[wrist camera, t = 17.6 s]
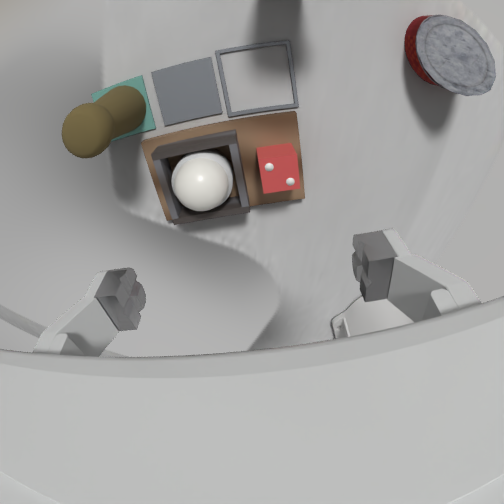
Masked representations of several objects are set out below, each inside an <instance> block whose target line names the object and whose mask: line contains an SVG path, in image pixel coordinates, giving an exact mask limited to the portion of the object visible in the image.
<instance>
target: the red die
mask: <svg viewBox="0 0 504 504" xmlns="http://www.w3.org/2000/svg"><path fill="white" fill-rule="evenodd" d="M256 149H257V155H258V162H259V168H260V174H261V180H262V186H263V192H264V194H266V193H272V192H279V191H286V190H294V189H300V179H299V169H298V159H297V153H296V151H295V149H294V147H293V146H292V144H291V143H287V144H279V145H272V146H265V147H258V148H256Z"/></svg>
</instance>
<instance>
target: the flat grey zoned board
mask: <svg viewBox="0 0 504 504" xmlns="http://www.w3.org/2000/svg"><path fill="white" fill-rule="evenodd" d="M283 44H286V47H287V53H288V60H289V66H290V73H291V80H292V88H293V95H294V103H295V104H286V105H278V106H270V107H263V108H256V109H250V110H243V111H237V112H232V113H231V108H230V103H229V98H228V93H227V88H226V83H225V78H224V73H223V67H222V62H221V57H220V53H225V52H231V51H237V50H243V49H249V48H256V47H264V46H273V45H283ZM215 52H216V57H217V62H218V67H219V72H220V77H221V82H222V87H223V92H224V97H225V102H226V107H227V112H228V117H230V116H236V115H242V114H248V113H254V112H261V111H268V110H275V109H283V108H292V107H299V104H298V96H297V89H296V81H295V74H294V67H293V60H292V54H291V47H290V41H279V42H269V43H261V44H253V45H246V46H240V47H234V48H228V49H223V50H218V51H215ZM151 73H152V77H153V81H154V85H155V89H156V93H157V97H158V101H159V105H160V109H161V113H162V116H163V120H164V124H165V126H166V125H170V124H174V123H178V122H182V121H186V120H191V119H195V118H200V117H204V116H209V115H214V114H219V113H222V108H221V104H220V99H219V94H218V89H217V84H216V79H215V74H214V70H213V65H212V60H211V57H208V58H204V59H199V60H195V61H191V62H187V63H183V64H179V65H175V66H171V67H168V68H164V69H161V70H157V71H154V72H151ZM124 85H126V86H131V87H134V88H135V89H137V90H138V91H139V92H140V93H141V94H142V95H143V97H144V100H145V102H146V114H145V118H144V120H143V121H142V123H141V125H140V126H138V127H137V128H136V129H135V130H133V131H130V132H128V133H126V134H123V135H121V136H119V137H116V138H114V139H112V140H111V142H112V141H115V140H118V139H121V138H124V137H127V136H130V135H134V134H137V133H140V132H144V131H147V130H151V129H155V128H156V126H155V123H154V119H153V115H152V112H151V108H150V104H149V100H148V97H147V93H146V89H145V85H144V81H143V77H142V75H141V76H138V77H135V78H132V79H129V80H127V81H124V82H121V83H118V84H116V85H113V86H110V87H108V88H105V89H103V90H100V91H98V92H95V93H93V94H92V98H93V101H94V102H95V101H96V100H98V99H99V98H100V97H102V96H103V95H104V94H106V93H107V92H108V91H110V90H111V89H113V88H115V87H117V86H124Z"/></svg>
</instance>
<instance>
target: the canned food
mask: <svg viewBox="0 0 504 504" xmlns="http://www.w3.org/2000/svg"><path fill="white" fill-rule="evenodd" d="M404 44H405V52H406V55H407V58H408V61H409V63H410V65H411V66H412V68H413V70H414V71H415V72H416V73H417V74H418V76H419V77H421V78H422V79H423V80H424V81H426V82H428V83H430V84H433V85H437V86H440V87H442V88H445V89H448V90H449V91H451V92H455V93H458V94H462V95H465V96H471V95H482V94H484V93H486V92H488V91H489V90H491V87H492V85H493V83H494V80H495V78H496V73H495V61H494V58H493V56H492V54H491V52H490V50H489V47H488V45H487V43H486V42H485V41H484V40H483V39H482V38H481V36H480V35H479V34H478V33H477V32H476V30H474V29H473V28H471V27H470V26H468V25H467V24H466V23H464V22H463V21H461V20H459V19H455V18H452V17H449V16H444V15H430V16H421V17H418V18H416V19H415V20H413V21H412V22H411V24H410V25H409V26H408V28H407V30H406V34H405V43H404Z"/></svg>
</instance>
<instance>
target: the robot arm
mask: <svg viewBox="0 0 504 504" xmlns="http://www.w3.org/2000/svg"><path fill="white" fill-rule="evenodd" d="M353 247H354V249H355V252H354V253H353V255H352V265H353V272H354V275H355V278H356V280H357V281H358V282H360V291H361V294H362V297H360V298H359V299H357V300H356V301H355V302H354V303H352V304H351V305H350V307H349V308H348V309H347V310H346V311H344V312H343V313H341V314H340V315H338V316H336V317H335V318H333V319H332V321H331V323H332V327H333V330H334V334H335V338H336V339H333V340H326V341H320V342H314V343H307V344H300V345H293V346H285V347H278V348H269V349H260V350H251V351H241V352H230V353H219V354H204V355H188V356H187V355H186V356H164V357H163V356H162V357H99V356H100V355H101V353H102V352H103V351H104V350H105V348H106V347H107V346H108V345H109V344H110V342H111V341H112V340H113V339H114V337H115V336H116V335H117V334H118V333H119V331H123V330H137V328H138V325H139V322H140V319H141V315H140V313H139V312H140V311H141V310H142V309H143V308H144V306H145V303H146V294H145V291H144V288H143V286H142V285H141V284H140V283H139V282H137V281H136V278H137V275H136V273H135V271H134V269H132V268H122V269H114V270H107V271H100V272H98V273H97V274H96V276H95V278H94V280H93V281H92V283H91V285H90V287H89V289H88V291H87V293H86V295H85V296H84V298H83V299H80V300H79V301H78V302H77V303H76V304H74V305H73V306H72V307H71V308H70V309H69V310H67V311H66V312H65V313H64V314H63V315H61V316H60V317H59V318H58V319H57V320H56V321H55V322H54V323H52V324H51V325H50V326H49V327H48V328H47V329H46V330H44V331H43V332H42V334H41V336H40V338H39V340H38V342H37V344H36V346H35V349H34V351H33V353H30V352H21V351H12V350H4V349H0V504H504V296H503V297H500V298H497V299H494V300H491V301H488V302H485V303H481V301H480V300H479V298H478V297H477V295H476V294H475V292H474V291H473V289H472V287H471V286H470V284H469V283H468V282H467V281H466V280H464V279H462V278H460V277H458V276H457V275H455V274H453V273H451V272H449V271H447V270H446V269H444V268H442V267H440V266H438V265H436V264H434V263H432V262H430V261H428V260H427V259H425V258H423V257H421V256H419V255H417V254H413V255H412V254H411V252H410V251H409V249H408V248H407V246H406V245H405V243H404V242H403V240H402V239H401V237H400V236H399V234H398V233H397V232H396V230H395V229H393V228H391V229H385V230H380V231H375V232H369V233H362V234H356V235H354V236H353Z"/></svg>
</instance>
